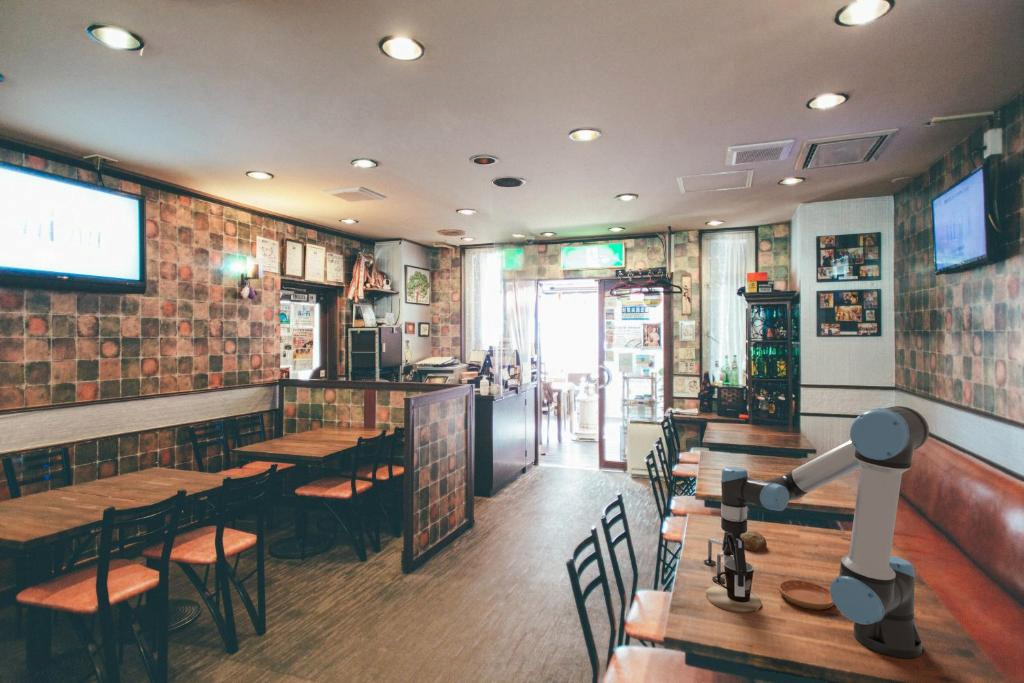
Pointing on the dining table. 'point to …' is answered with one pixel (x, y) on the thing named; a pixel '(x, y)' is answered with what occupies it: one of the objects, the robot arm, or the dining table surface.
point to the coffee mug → (730, 581)
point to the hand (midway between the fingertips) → (733, 585)
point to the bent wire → (711, 562)
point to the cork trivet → (721, 600)
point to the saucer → (806, 594)
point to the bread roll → (753, 541)
